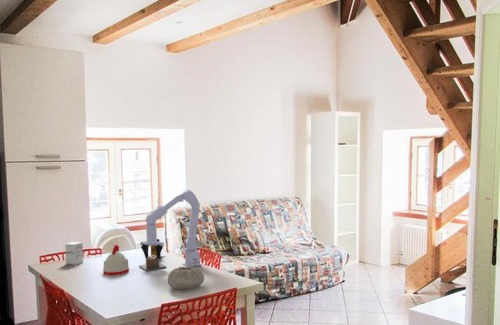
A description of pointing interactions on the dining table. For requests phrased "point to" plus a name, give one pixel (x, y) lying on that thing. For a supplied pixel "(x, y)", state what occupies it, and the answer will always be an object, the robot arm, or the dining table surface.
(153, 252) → the condiment
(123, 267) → the kitchen timer
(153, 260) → the taped cardboard box
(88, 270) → the dining table surface
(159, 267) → the hub plate
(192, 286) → the grey stone
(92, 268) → the dining table surface
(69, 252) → the supplement box
